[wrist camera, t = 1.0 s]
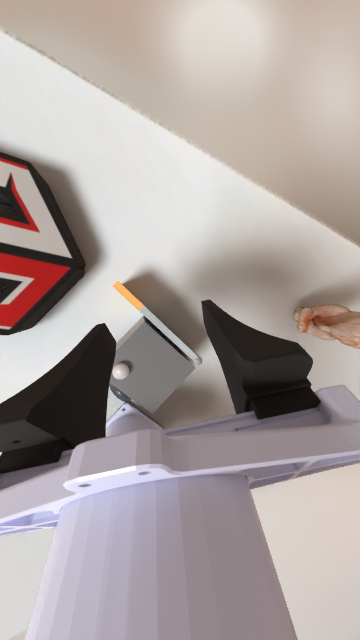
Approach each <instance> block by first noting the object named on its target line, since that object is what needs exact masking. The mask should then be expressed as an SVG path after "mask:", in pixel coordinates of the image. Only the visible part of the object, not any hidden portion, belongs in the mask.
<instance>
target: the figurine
mask: <svg viewBox="0 0 360 640" xmlns="http://www.w3.org/2000/svg"><path fill="white" fill-rule="evenodd" d="M294 319H295V320H296V321H298V325H297V329H298V331H299V332H304V333H308V334H313V335H314V336H316V337H318V338H320V339H323V340H334V339H338V340H339V341H340V342H341V343H343V344H346V345H348V346H351V347H354V348H358V349H360V312H352V311H350V310H349V309H348V308H346V307H343V306H339V305H321V306H317V307H313V308H308V307H307V308H303V307H299V308H297V309H296V312H295V314H294Z"/></svg>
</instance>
